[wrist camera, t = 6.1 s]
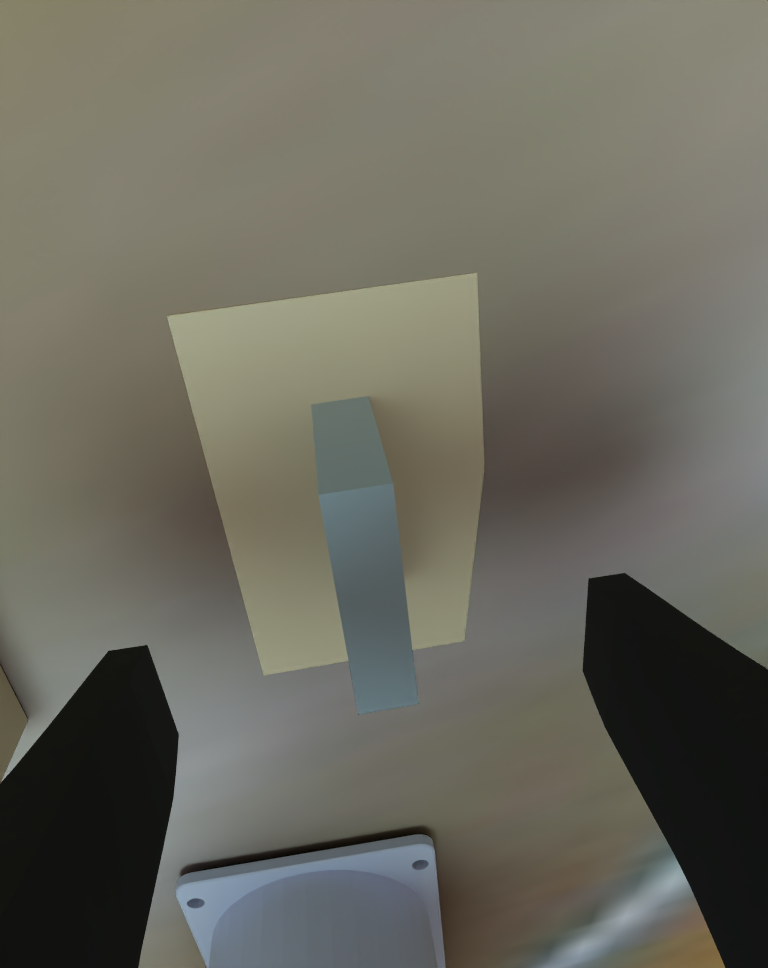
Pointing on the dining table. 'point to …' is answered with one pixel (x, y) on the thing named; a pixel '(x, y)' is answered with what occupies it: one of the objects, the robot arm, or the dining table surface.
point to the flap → (346, 470)
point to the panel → (9, 723)
